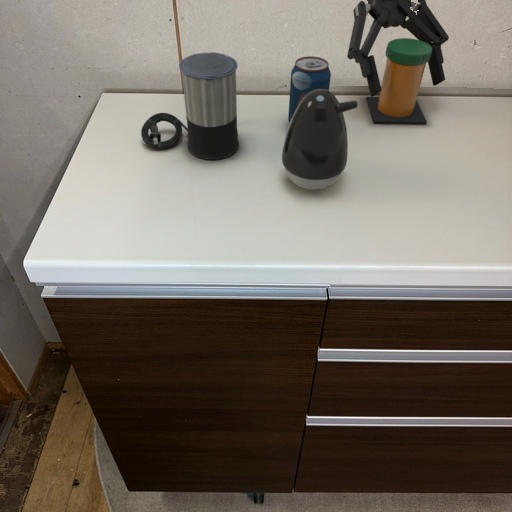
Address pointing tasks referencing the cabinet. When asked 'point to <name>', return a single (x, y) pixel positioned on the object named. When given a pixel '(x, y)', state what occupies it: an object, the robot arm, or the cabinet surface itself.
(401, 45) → the jar lid
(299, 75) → the soda can
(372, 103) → the mat
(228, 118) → the milk frother
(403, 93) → the jar
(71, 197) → the cabinet surface
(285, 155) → the pump dispenser
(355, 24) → the robot arm
